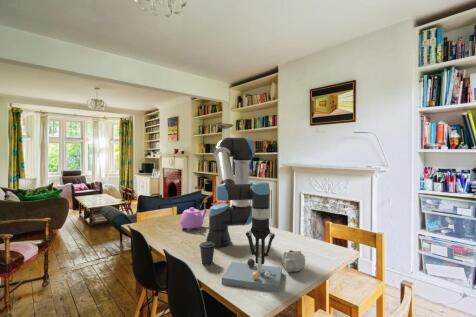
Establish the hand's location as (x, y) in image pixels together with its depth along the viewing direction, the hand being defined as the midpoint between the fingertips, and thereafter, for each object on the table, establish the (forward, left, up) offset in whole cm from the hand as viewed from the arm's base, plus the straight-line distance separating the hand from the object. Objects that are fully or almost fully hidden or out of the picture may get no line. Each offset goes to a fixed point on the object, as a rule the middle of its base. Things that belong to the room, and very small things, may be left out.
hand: (259, 270), depth 107 cm
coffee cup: (-28, +9, -4) cm, 30 cm away
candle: (+14, +14, -4) cm, 20 cm away
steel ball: (+3, 0, -2) cm, 4 cm away
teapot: (-57, +60, -4) cm, 83 cm away
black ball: (-5, +6, +1) cm, 7 cm away
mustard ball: (-1, -5, 0) cm, 6 cm away
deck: (-3, 0, -4) cm, 5 cm away
